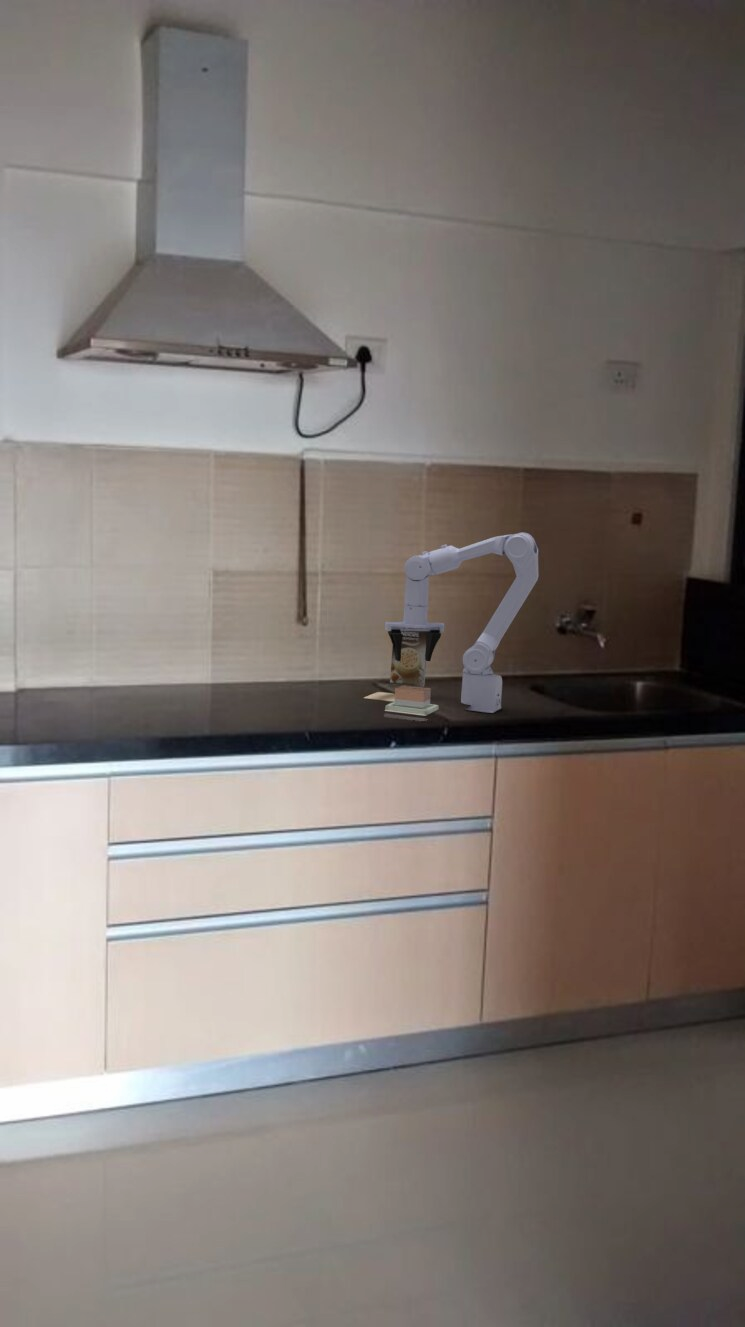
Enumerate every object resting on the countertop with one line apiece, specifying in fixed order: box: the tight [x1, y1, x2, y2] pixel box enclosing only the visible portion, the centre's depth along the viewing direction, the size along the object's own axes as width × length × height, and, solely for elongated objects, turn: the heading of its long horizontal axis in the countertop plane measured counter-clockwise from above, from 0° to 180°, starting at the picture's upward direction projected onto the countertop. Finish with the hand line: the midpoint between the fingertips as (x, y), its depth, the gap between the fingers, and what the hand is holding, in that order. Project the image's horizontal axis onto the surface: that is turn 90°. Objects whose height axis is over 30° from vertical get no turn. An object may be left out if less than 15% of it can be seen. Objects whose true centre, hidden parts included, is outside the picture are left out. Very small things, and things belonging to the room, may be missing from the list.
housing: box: [394, 684, 432, 710], centre depth 307 cm, size 5×7×5 cm
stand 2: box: [383, 701, 440, 722], centre depth 307 cm, size 10×10×2 cm
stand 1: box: [363, 691, 395, 703], centre depth 322 cm, size 10×10×2 cm
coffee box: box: [389, 628, 427, 687], centre depth 344 cm, size 9×6×16 cm
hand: (412, 660), depth 323 cm, fingers open, 7 cm apart
